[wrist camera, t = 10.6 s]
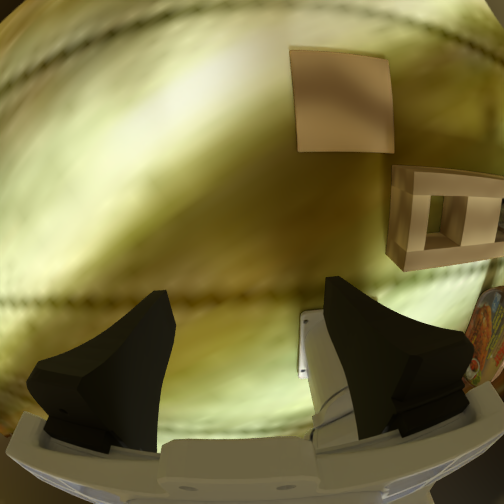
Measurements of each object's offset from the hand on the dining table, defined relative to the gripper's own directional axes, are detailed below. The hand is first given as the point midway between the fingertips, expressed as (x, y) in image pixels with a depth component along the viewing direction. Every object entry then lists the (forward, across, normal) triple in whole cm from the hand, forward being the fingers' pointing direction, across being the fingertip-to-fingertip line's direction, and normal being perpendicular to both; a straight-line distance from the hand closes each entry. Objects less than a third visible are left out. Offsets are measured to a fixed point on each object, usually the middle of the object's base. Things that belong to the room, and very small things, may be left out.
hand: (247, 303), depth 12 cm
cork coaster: (+10, -8, -10) cm, 16 cm away
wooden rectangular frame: (+10, -21, 0) cm, 24 cm away
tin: (+10, -30, +16) cm, 36 cm away
